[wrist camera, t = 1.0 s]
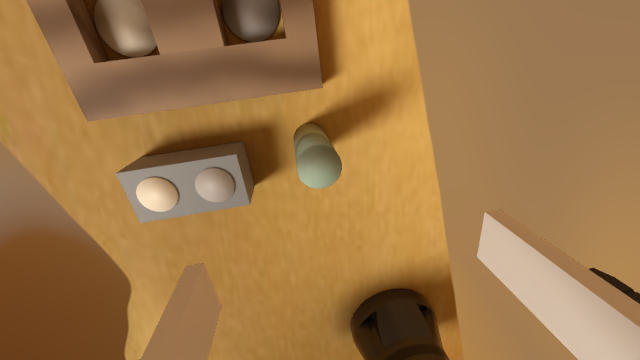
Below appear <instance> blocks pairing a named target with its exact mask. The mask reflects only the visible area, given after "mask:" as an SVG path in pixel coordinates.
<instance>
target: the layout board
mask: <svg viewBox="0 0 640 360" xmlns="http://www.w3.org/2000/svg"><path fill="white" fill-rule="evenodd" d="M26 1H27V3H28V5H29V7H30V9H31V11H32V13H33V15H34V17H35V19H36V21H37V23H38V25H39V26H40V28H41V30H42V32H43V34H44V36H45V38H46V40H47V42H48V44H49V46H50V48H51V50H52V52H53V54H54V56H55V58H56V60H57V62H58V64H59V66H60V68H61V70H62V72H63V74H64V76H65V78H66V80H67V82H68V84H69V86H70V88H71V90H72V92H73V94H74V96H75V98H76V100H77V102H78V104H79V106H80V108H81V110H82V112H83V114H84V116H85V118H86V120H87V122H88V121H95V120H102V119H109V118H116V117H123V116H130V115H137V114H144V113H151V112H158V111H165V110H172V109H179V108H186V107H193V106H200V105H206V104H213V103H220V102H227V101H234V100H241V99H248V98H255V97H262V96H269V95H276V94H283V93H290V92H297V91H304V90H311V89H318V88H323V86H322V77H321V68H320V60H319V51H318V42H317V33H316V24H315V15H314V7H313V0H280V5H281V11H282V18H283V24H284V30H285V37H286V38H284V39H276V40H269V41H263V40H265V39H267V38H268V37H270V36H271V35H272V34H273V32H274V31H275V29H276V27H277V25H278V21H279V5H278V1H277V0H222V13H223V17H224V19H225V22H226V24H227V25H228V27H229V28H230V30H231V31H232V32H233V33H234V34H235V35H236V36H238V37H239V38H241V39H243V40H245V41H249V42H253V43H246V44H238V45H231V46H229V45H228V41H227V37H226V33H225V29H224V25H223V20H222V16H221V12H220V8H219V4H218V0H97V2H96V4H95V8H94V21H95V25H96V28H97V30H98V32H99V34H100V36H101V38H102V39H103V40H104V41H105V43H106V44H107V45H108V46H109V47H111V48H112V49H113V50H115V51H116V52H118V53H120V54H122V55H125V56H128V57H136V58H131V59H123V60H116V61H109V59H108V56H107V54H106V52H105V49H104V47H103V45H102V42H101V40H100V38H99V35H98V33H97V31H96V28H95V26H94V24H93V21H92V19H91V17H90V14H89V12H88V9H87V7H86V5H85V2H84V0H26ZM260 41H261V42H260ZM156 46H157V47H158V50H159V53H160V55H154V56H146V55H148V54H150V53H151V52H152V51H153V50H154V49H155V48H156ZM144 56H146V57H144ZM137 57H139V58H137Z"/></svg>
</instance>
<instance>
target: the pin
mask: <svg viewBox="0 0 640 360" xmlns="http://www.w3.org/2000/svg"><path fill="white" fill-rule="evenodd" d="M294 146H295V155H296V163H297V171H298V175H299V178H300V179H301V181H302V182H303V183H304V184H306V185H307V186H309V187H311V188H316V189H320V188H326V187H328V186H330V185H332V184H333V183H334V182H336V180H337V179H338V178H339V176H340V174H341V170H342V163H341V160H340V157H339V156H338V154H337V152H336V151H335V149H334V147H333V146H332V144H331V142H330V140H329V139H328V137H327V135H326V134H325V132H324V130H323V129H322V128H321V127H320V126H319V125H317V124H314V123H306V124H303V125H301V126H300V127H299V128H298V129H297V130H296V132H295V134H294Z"/></svg>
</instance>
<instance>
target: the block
mask: <svg viewBox="0 0 640 360" xmlns="http://www.w3.org/2000/svg"><path fill="white" fill-rule="evenodd" d="M116 175H117V177H118V179H119V181H120V183H121V185H122V187H123V189H124V191H125V193H126V195H127V197H128V199H129V201H130V203H131V205H132V207H133V209H134V211H135V213H136V215H137V217H138V219H139V221H140V223H143V222H149V221H155V220H161V219H167V218H173V217H179V216H185V215H191V214H197V213H203V212H208V211H214V210H220V209H226V208H232V207H238V206H244V205H250V202H251V198H252V194H253V190H254V186H255V185H254V181H253V177H252V173H251V170H250V166H249V162H248V158H247V154H246V150H245V146H244V142H243V141H242V142H236V143H229V144H223V145H216V146H210V147H203V148H197V149H190V150H184V151H177V152H171V153H164V154H158V155H151V156H145V157H140V158H139V159H137V160H136V161H134V162H133V163H131V164H129V165H128V166H126V167H125V168H123V169H122V170H120V171H119V172H117V173H116Z"/></svg>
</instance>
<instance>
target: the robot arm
mask: <svg viewBox="0 0 640 360" xmlns="http://www.w3.org/2000/svg"><path fill="white" fill-rule="evenodd" d="M477 257H478V258H479V259H480V260H481V261H482V263H484V264H485V265H486V267H488V268H489V269H490V271H491V272H492V273H493V274H494V275H495V276H496V277H497V278H498V279H499V280H500V281H501V282H502V283H503V284H504V285H505V286H506V287H507V288H508V289H509V290H510V291H511V292H512V293H513V294H514V295H515V296H516V297H517V298H518V299H519V300H520V301H521V302H522V303H523V304H524V305H525V306H526V307H527V308H528V309H529V310H530V311H531V312H532V313H533V314H534V315H535V316H536V317H537V318H538V319H539V320H540V321H541V322H542V323H543V324H544V325H545V326H546V327H547V328H548V329H549V330H550V331H551V332H552V333H553V334H554V335H555V336H556V337H557V338H558V339H559V340H560V341H561V342H562V343H563V344H564V345H565V346H566V347H567V348H568V349H569V350H570V351H571V352H572V353H573V354H574V355H575V356H576V358H578V359H579V360H640V294H639V293H638V292H634V291H633V289H632V288H630V287H628V286H627V285H625V284H624V283H622V282H621V281H619V280H618V279H616V278H615V277H612V276H610V275H608V274H606V273H604V272H601V271H599V270H597V269H595V268H590V269H587V268H586V267H584V266H583V265H581V264H580V263H579V262H577V261H575V260H574V259H573V258H571V257H570V256H568V255H567V254H565V253H564V252H562V251H561V250H559V249H558V248H556V247H555V246H554V245H552V244H551V243H549V242H548V241H546V240H545V239H543V238H542V237H540V236H539V235H537V234H536V233H534V232H533V231H531V230H530V229H528V228H527V227H526V226H524V225H523V224H521V223H520V222H518V221H517V220H515V219H514V218H512V217H511V216H509V215H508V214H506V213H505V212H504V211H502V210H500V209H499V210H493V211H488V212H485V215H484V220H483V226H482V232H481V237H480V244H479V249H478V254H477ZM220 309H221V304H220V302H219V299H218V297H217V294H216V292H215V290H214V287H213V285H212V282H211V280H210V278H209V275H208V273H207V270H206V268H205V265H204V263H200V264H195V265H189V266H186V267H185V269H184V271H183V273H182V275H181V277H180V279H179V281H178V283H177V285H176V287H175V290H174V292H173V294H172V296H171V298H170V300H169V302H168V304H167V306H166V308H165V310H164V312H163V314H162V316H161V319H160V321H159V323H158V325H157V327H156V329H155V331H154V333H153V335H152V337H151V339H150V341H149V343H148V345H147V347H146V350H145V352H144V354H143V356H142V358H141V360H207V359H208V355H209V352H210V348H211V344H212V340H213V336H214V332H215V328H216V325H217V321H218V317H219V313H220ZM351 332H352V335H353V339H354V342H355V345H356V347H357V348H358V350H359V352H360V353H361V355H362V356H363V358H364V360H449V358H448V357H447V355H446V353H445V351H444V349H443V346H442V342H441V338H440V333H439V329H438V325H437V320H436V316H435V313H434V311H433V309H432V307H431V306H430V304H429V302H428V301H427V299H426V298H425V297H424V296H423V295H421V294H420V293H418V292H415V291H412V290H406V289H396V290H390V291H386V292H382V293H380V294H377V295H375V296H373V297H371V298H370V299H368V300H367V301H365V302H364V303H363V304H362V305H361V306H360V307H359V308H358V309H357V310H356V312H355V313H354V315H353V317H352V320H351Z"/></svg>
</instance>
